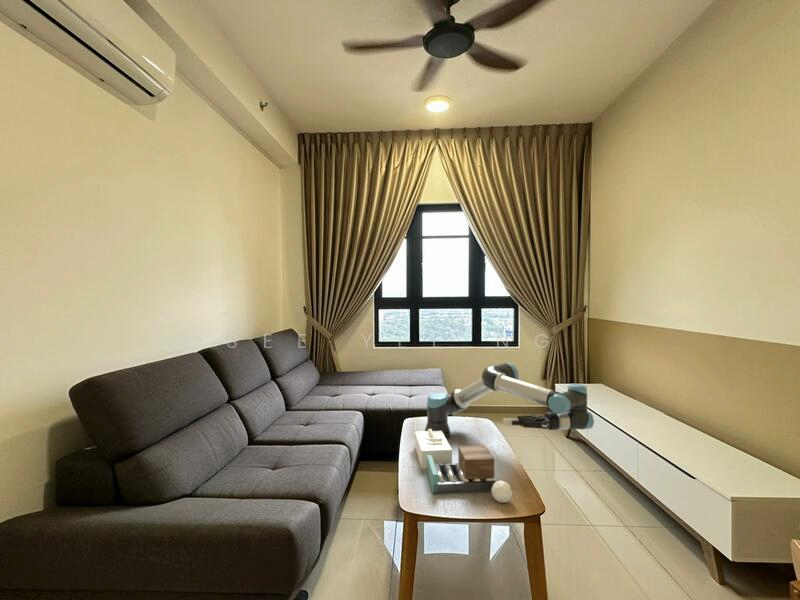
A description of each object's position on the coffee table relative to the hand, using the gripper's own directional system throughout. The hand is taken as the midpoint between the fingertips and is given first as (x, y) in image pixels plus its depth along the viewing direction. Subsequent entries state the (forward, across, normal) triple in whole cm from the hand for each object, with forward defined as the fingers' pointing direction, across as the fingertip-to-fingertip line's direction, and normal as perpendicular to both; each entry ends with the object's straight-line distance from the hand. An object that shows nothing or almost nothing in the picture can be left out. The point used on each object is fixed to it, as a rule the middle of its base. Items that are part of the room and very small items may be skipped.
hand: (503, 422), depth 160 cm
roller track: (+19, 0, -25) cm, 31 cm away
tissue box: (+28, +26, -26) cm, 46 cm away
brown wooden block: (+13, 0, -21) cm, 24 cm away
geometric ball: (+7, -16, -26) cm, 31 cm away
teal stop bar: (+32, 0, -25) cm, 40 cm away
